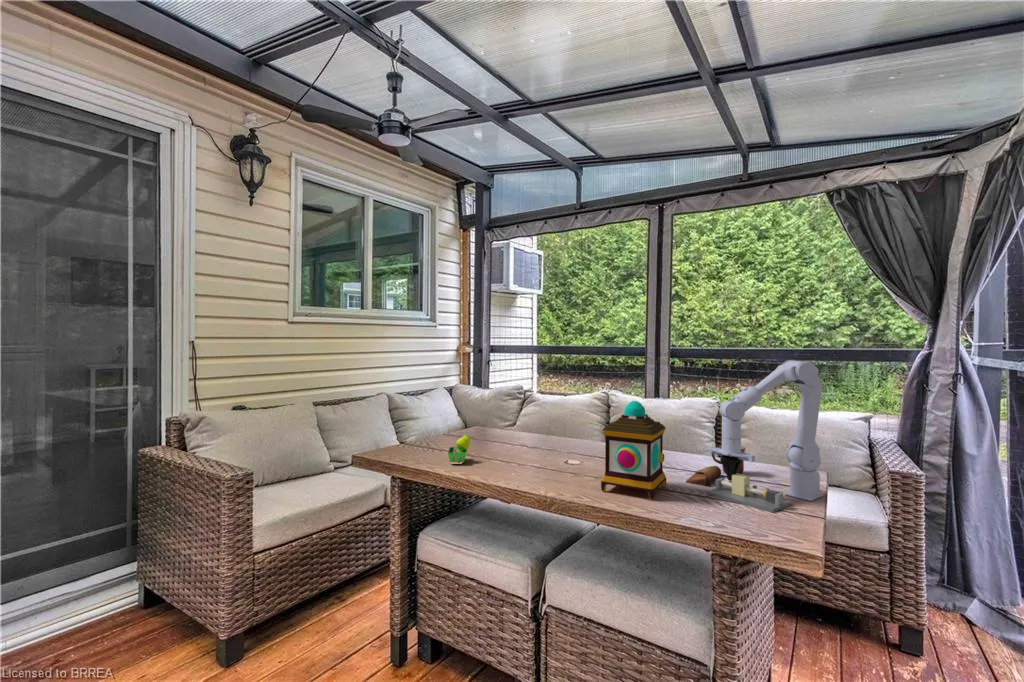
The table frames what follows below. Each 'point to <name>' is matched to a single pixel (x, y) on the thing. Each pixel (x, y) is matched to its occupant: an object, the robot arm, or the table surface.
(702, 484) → the sunglasses case
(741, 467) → the mug
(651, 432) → the decorative lantern
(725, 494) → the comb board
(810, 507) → the table surface
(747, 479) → the cream block on rod
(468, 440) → the fruit basket
